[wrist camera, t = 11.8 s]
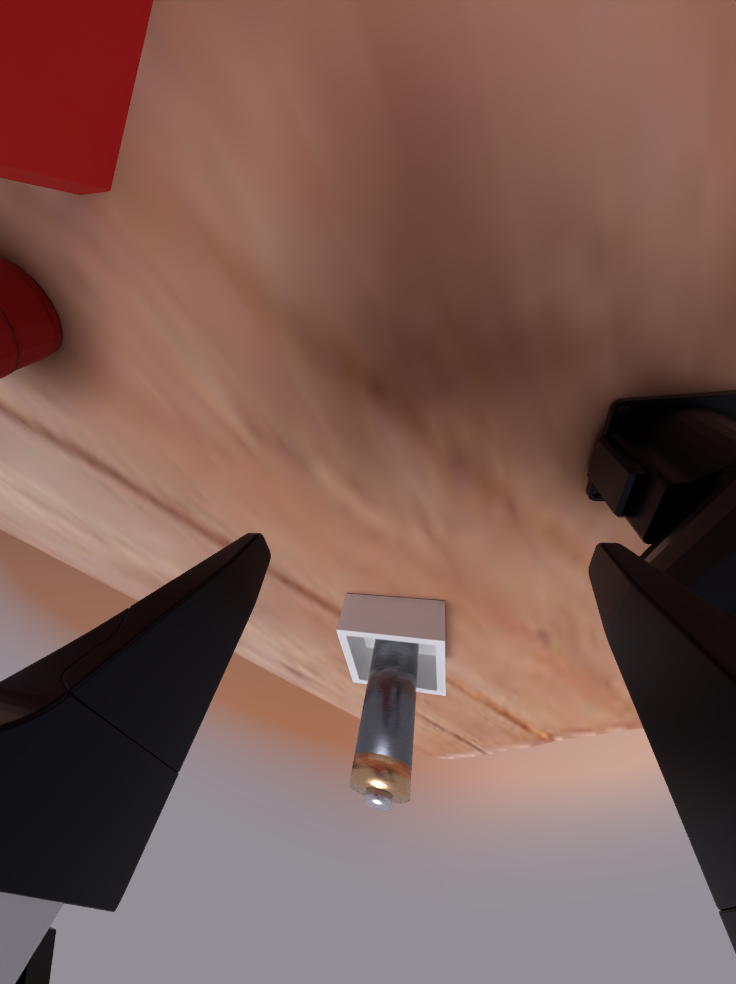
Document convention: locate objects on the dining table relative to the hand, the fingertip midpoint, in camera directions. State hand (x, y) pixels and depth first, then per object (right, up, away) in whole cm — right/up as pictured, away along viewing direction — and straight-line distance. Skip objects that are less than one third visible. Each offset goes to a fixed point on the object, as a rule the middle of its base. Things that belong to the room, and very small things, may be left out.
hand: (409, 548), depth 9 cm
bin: (+2, -13, +24) cm, 28 cm away
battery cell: (+2, -13, +24) cm, 27 cm away
